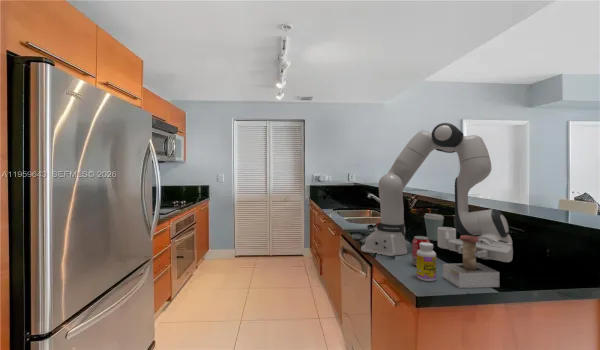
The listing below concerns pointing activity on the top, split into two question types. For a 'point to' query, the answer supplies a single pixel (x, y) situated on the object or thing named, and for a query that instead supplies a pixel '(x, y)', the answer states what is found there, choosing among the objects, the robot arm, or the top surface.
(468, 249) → the wooden pin
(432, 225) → the disposable coffee cup
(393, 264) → the top surface
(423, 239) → the soda can
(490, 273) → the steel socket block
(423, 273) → the supplement bottle
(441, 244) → the mug
